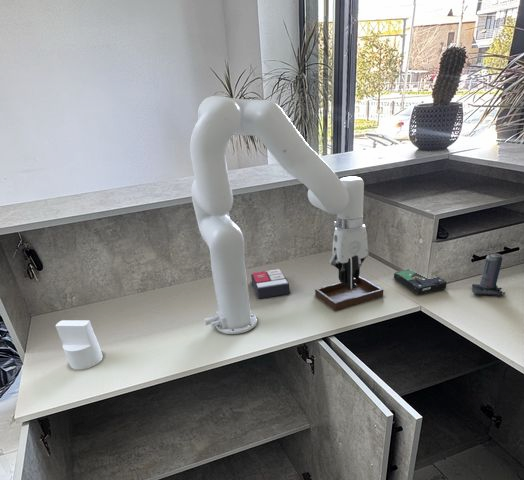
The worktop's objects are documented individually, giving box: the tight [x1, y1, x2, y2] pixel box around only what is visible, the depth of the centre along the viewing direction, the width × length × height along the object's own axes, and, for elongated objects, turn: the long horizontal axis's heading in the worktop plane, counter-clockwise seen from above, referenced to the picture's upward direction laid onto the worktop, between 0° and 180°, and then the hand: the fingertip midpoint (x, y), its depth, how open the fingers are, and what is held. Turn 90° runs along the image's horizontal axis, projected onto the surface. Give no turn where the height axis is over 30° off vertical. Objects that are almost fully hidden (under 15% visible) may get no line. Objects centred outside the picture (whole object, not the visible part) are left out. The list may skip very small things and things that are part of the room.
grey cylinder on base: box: [471, 252, 506, 297], centre depth 132 cm, size 9×8×12 cm
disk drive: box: [393, 268, 447, 296], centre depth 144 cm, size 10×3×15 cm
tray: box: [314, 276, 384, 312], centre depth 141 cm, size 18×13×3 cm
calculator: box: [250, 268, 291, 299], centre depth 152 cm, size 11×4×15 cm
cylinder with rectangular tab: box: [55, 319, 104, 370], centre depth 120 cm, size 9×9×12 cm
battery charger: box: [339, 255, 359, 289], centre depth 136 cm, size 7×4×11 cm, turn 17°
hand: (349, 279), depth 138 cm, fingers closed on battery charger, 4 cm apart
